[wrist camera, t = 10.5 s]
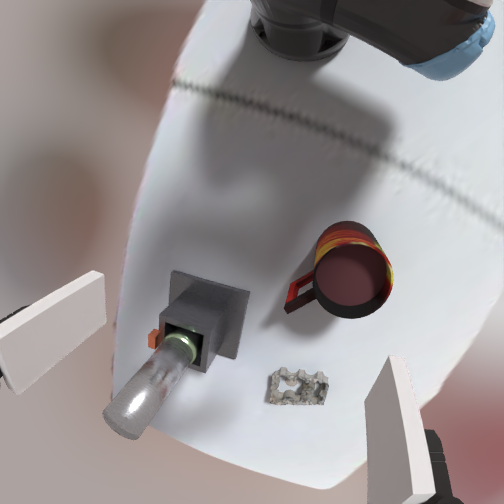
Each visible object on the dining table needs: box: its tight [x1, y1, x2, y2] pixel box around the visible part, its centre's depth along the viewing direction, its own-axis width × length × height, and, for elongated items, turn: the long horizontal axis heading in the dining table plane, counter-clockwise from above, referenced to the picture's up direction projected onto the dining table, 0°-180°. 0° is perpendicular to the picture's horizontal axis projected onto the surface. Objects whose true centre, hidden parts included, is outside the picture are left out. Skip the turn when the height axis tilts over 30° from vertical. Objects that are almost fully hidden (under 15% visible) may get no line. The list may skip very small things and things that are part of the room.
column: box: [103, 327, 202, 440], centre depth 37 cm, size 6×6×20 cm
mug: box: [284, 221, 393, 319], centre depth 40 cm, size 10×14×12 cm
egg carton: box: [270, 367, 329, 405], centre depth 52 cm, size 11×8×4 cm
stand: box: [148, 270, 250, 373], centre depth 48 cm, size 14×14×12 cm
